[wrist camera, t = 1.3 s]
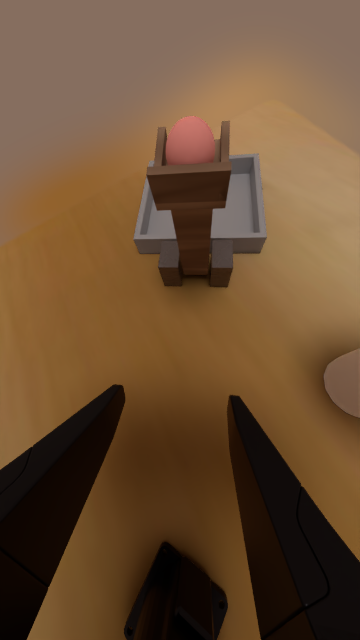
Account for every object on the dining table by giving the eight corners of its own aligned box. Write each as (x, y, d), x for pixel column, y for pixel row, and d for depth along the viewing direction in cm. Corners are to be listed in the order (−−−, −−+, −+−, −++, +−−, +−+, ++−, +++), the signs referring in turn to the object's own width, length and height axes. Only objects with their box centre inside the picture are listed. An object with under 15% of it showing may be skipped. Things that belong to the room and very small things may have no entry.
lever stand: (227, 287, 25) (232, 267, 21) (164, 285, 26) (158, 267, 22) (227, 262, 26) (232, 240, 22) (167, 262, 27) (161, 240, 23)
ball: (200, 200, 12) (200, 154, 9) (162, 186, 13) (150, 137, 10) (221, 164, 12) (227, 108, 9) (182, 151, 13) (177, 94, 10)
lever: (213, 282, 25) (231, 169, 10) (178, 282, 25) (146, 175, 10) (214, 248, 26) (232, 99, 11) (180, 248, 26) (154, 108, 12)
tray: (259, 253, 26) (266, 237, 23) (140, 253, 28) (133, 239, 26) (253, 173, 32) (258, 153, 29) (153, 179, 34) (149, 161, 31)
